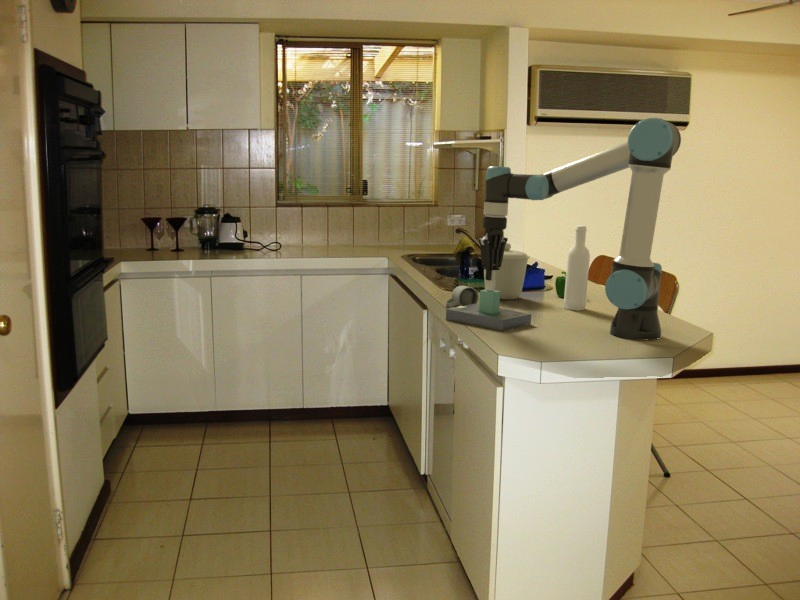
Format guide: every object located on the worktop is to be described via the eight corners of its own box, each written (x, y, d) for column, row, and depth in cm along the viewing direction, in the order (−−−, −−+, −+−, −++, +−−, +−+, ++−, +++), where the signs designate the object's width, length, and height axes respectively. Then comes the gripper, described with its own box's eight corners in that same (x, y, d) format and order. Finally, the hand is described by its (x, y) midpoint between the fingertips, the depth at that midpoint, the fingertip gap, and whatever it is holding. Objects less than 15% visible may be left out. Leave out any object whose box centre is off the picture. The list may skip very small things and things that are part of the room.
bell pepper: (579, 299, 306) (581, 273, 305) (560, 299, 304) (562, 273, 303) (570, 295, 314) (572, 270, 313) (551, 295, 312) (553, 270, 311)
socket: (530, 324, 252) (531, 311, 251) (502, 331, 240) (503, 317, 239) (474, 313, 266) (475, 301, 265) (445, 319, 254) (446, 306, 253)
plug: (498, 319, 252) (500, 291, 251) (491, 321, 249) (493, 292, 248) (485, 317, 256) (487, 289, 254) (478, 318, 253) (480, 290, 251)
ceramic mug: (468, 304, 283) (469, 283, 282) (478, 308, 276) (479, 287, 274) (441, 305, 280) (442, 284, 278) (450, 309, 272) (451, 288, 271)
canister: (527, 295, 308) (531, 242, 305) (526, 303, 291) (530, 246, 287) (480, 292, 311) (484, 239, 308) (477, 299, 294) (480, 243, 290)
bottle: (570, 311, 280) (578, 226, 274) (558, 306, 287) (565, 224, 282) (589, 310, 283) (597, 227, 277) (577, 306, 290) (584, 224, 285)
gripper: (497, 214, 254) (491, 286, 258) (473, 215, 245) (468, 290, 249) (516, 216, 249) (510, 290, 254) (493, 217, 240) (487, 293, 244)
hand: (489, 290), depth 251 cm, fingers closed
